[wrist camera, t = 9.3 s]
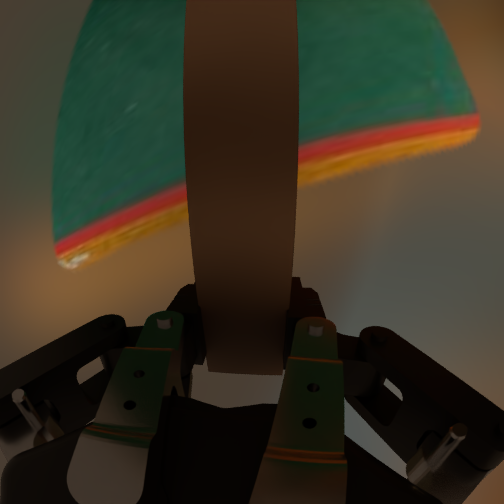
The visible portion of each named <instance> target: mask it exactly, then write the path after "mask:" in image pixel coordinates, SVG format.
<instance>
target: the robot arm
mask: <svg viewBox="0 0 504 504" xmlns="http://www.w3.org/2000/svg"><path fill="white" fill-rule="evenodd" d="M336 331H337V330H336V326H335V324H334V323H333V322H332V321H330V320H328V319H326V317H325V313H324V311H323V307H322V305H321V302H320V299H319V296H318V293H317V292H315V291H314V290H313V289H312V288H302V285H301V281H300V277H292V281H291V293H290V305H289V310H287V317H286V328H285V339H284V349H283V369H284V370H285V374H284V379H283V384H282V388H281V392H280V397H279V401H278V404H258V405H250V406H243V407H234V408H220V407H217V406H214V405H210V404H207V403H204V402H201V401H197V400H195V399H192V398H191V391H192V379H193V375H192V368H193V365H194V364H198V365H203V363H204V359H205V357H206V354H207V350H206V343H205V336H204V330H203V323H202V315H201V308H200V306H198V299H197V291H196V283H194V284H188V285H186V286H184V287H183V288H181V289H180V290H179V292H178V293H177V295H176V296H175V298H174V300H173V301H172V302H171V303H170V305H169V306H168V308H167V309H166V311H160V312H156V313H154V314H152V315H150V316H149V317H148V318H147V319H146V322H145V324H144V326H134V327H126V323H125V320H124V318H123V317H121V316H119V315H114V314H110V315H104V316H101V317H98V318H96V319H94V320H92V321H90V322H89V323H87V324H85V325H83V326H81V327H79V328H77V329H75V330H73V331H71V332H69V333H67V334H66V335H64V336H62V337H60V338H58V339H56V340H54V341H52V342H50V343H49V344H47V345H45V346H43V347H41V348H39V349H37V350H36V351H34V352H32V353H30V354H28V355H26V356H24V357H22V358H21V359H19V360H17V361H15V362H13V363H11V364H10V365H8V366H6V367H4V368H2V369H0V448H1V450H2V452H3V454H4V456H5V458H6V459H7V461H8V463H7V464H6V466H5V468H4V470H3V473H2V477H1V496H0V504H462V503H463V502H464V501H465V500H466V498H467V497H468V496H469V495H470V494H471V492H473V490H474V489H475V488H476V487H477V485H478V484H479V483H480V482H481V480H482V479H484V478H485V477H486V476H487V475H488V474H489V473H490V472H491V471H492V470H494V469H495V468H496V466H498V465H499V464H500V463H501V462H502V461H503V460H504V411H503V410H502V409H500V408H499V407H498V406H496V405H495V404H494V403H492V402H491V401H489V400H488V399H487V398H486V397H484V396H483V395H481V394H480V393H479V392H477V391H476V390H475V389H473V388H472V387H470V386H469V385H468V384H466V383H465V382H464V381H462V380H461V379H459V378H458V377H457V376H455V375H454V374H453V373H451V372H449V371H448V370H447V369H446V368H444V367H443V366H441V365H440V364H438V363H437V362H436V361H434V360H433V359H432V358H430V357H429V356H427V355H426V354H424V353H423V352H422V351H420V350H419V349H417V348H416V347H415V346H413V345H412V344H410V343H409V342H407V341H406V340H404V339H403V338H402V337H400V336H399V335H397V334H396V333H395V332H393V331H392V330H390V329H387V328H384V327H380V326H371V327H366V328H364V329H363V330H362V331H361V332H360V335H359V337H354V336H348V335H343V334H340V333H338V332H336ZM99 356H100V359H101V361H102V364H103V367H104V369H103V370H102V371H100V372H99V373H97V374H96V375H94V376H93V377H91V378H89V379H88V380H86V381H85V382H83V383H82V384H80V385H79V383H78V381H77V372H78V370H79V369H80V368H81V367H83V366H84V365H86V364H88V363H89V362H91V361H93V360H94V359H96V358H97V357H99ZM386 378H387V379H388V380H389V381H390V382H392V383H393V384H394V385H395V386H396V387H397V388H398V389H399V390H400V391H401V393H402V396H403V401H401V400H400V399H399V398H398V397H397V396H396V395H395V394H394V393H393V392H391V391H390V390H389V389H388V388H387V387H386V386H385V385H384V382H385V379H386ZM344 397H345V399H346V401H347V402H348V403H349V404H350V405H351V406H352V407H353V408H354V409H355V410H356V412H357V413H358V414H359V415H360V416H361V417H362V418H363V419H364V420H365V421H366V422H367V423H368V424H369V425H370V427H371V428H372V429H373V430H374V431H375V432H376V433H377V434H378V435H379V436H380V437H381V438H382V439H383V440H384V441H385V442H386V443H387V444H388V445H389V446H390V448H391V449H392V450H393V451H394V452H395V453H396V454H397V455H398V456H399V457H400V458H401V459H402V460H403V461H404V462H405V463H406V464H407V465H406V474H407V476H408V478H407V479H406V478H404V477H402V476H401V475H399V474H398V473H396V472H395V471H394V470H392V469H391V468H389V467H388V466H386V465H385V464H384V463H382V462H381V461H379V460H378V459H376V458H375V457H374V456H372V455H371V454H370V453H368V452H367V451H366V450H364V449H363V448H362V447H360V446H359V445H358V444H356V443H355V442H354V441H352V440H351V439H350V438H349V437H347V436H346V435H345V434H344ZM94 418H95V419H94ZM93 419H94V421H93V422H91V423H89V422H90V421H91V420H93ZM87 423H89V424H87ZM86 424H87V425H86ZM84 425H85V426H84Z"/></svg>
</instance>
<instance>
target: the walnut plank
mask: <svg viewBox="0 0 504 504" xmlns="http://www.w3.org/2000/svg"><path fill="white" fill-rule="evenodd" d="M183 106H184V146H185V168H186V185H187V200H188V213H189V225H190V236H191V246H192V256H193V266H194V275H195V283H196V291H197V299H198V306H200V308H201V315H202V323H203V330H204V336H205V343H206V350H207V354H206V359H207V365H208V371H210V372H221V373H235V374H256V375H282V373H283V349H284V339H285V328H286V317H287V310H289V305H290V293H291V281H292V267H293V253H294V238H295V220H296V218H295V217H296V199H297V174H298V134H299V67H298V31H297V9H296V0H187V3H186V17H185V37H184V75H183Z"/></svg>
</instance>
